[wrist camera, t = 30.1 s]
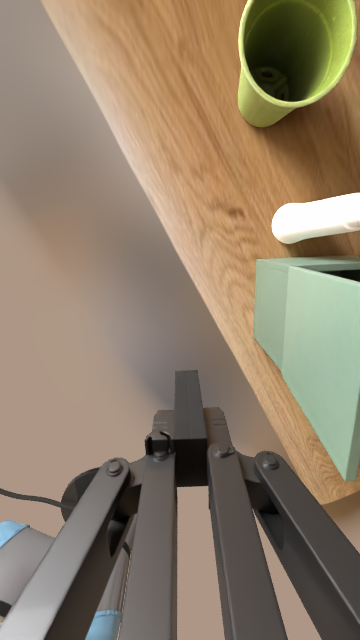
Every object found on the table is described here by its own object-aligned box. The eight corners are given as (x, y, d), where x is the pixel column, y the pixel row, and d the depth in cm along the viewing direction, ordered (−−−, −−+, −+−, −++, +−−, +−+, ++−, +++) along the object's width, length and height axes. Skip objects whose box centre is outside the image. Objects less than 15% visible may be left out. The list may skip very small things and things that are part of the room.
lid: (390, 289, 15) (375, 289, 15) (356, 481, 18) (344, 481, 18) (295, 266, 29) (288, 266, 29) (287, 375, 33) (281, 375, 33)
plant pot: (314, 124, 38) (369, 77, 27) (236, 159, 39) (259, 126, 28) (293, 27, 35) (344, -70, 24) (209, 68, 36) (222, -7, 25)
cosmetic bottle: (267, 240, 42) (356, 237, 21) (276, 200, 41) (384, 152, 20) (303, 246, 43) (427, 249, 21) (314, 206, 41) (460, 167, 20)
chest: (345, 254, 43) (419, 259, 30) (335, 333, 47) (397, 368, 34) (255, 259, 43) (290, 265, 30) (253, 337, 47) (283, 374, 34)
